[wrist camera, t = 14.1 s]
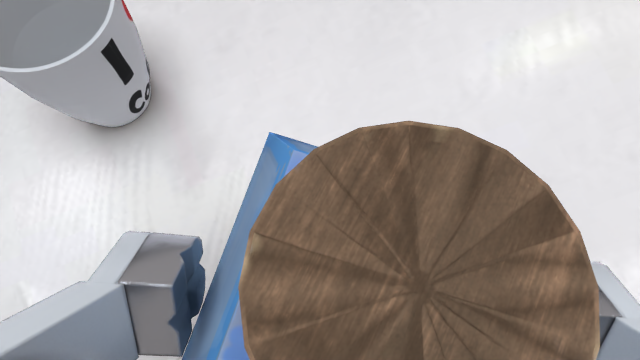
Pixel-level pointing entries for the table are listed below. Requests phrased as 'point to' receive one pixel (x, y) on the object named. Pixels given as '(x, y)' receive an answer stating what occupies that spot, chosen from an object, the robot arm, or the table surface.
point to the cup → (76, 57)
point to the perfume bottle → (399, 256)
